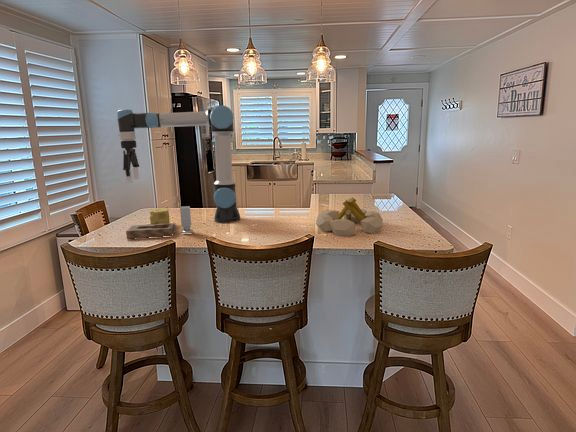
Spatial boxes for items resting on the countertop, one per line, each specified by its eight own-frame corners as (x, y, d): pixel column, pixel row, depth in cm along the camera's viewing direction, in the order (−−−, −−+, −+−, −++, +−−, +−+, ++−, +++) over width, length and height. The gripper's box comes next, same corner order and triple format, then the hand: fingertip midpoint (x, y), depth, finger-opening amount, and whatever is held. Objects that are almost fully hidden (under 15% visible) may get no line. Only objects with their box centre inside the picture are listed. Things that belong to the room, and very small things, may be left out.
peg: (193, 231, 216) (191, 205, 213) (192, 234, 210) (190, 208, 207) (182, 232, 215) (179, 206, 212) (180, 235, 209) (178, 208, 206)
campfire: (330, 240, 193) (329, 205, 189) (307, 224, 225) (307, 193, 221) (395, 232, 202) (396, 199, 198) (365, 218, 234) (365, 189, 230)
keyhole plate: (175, 231, 218) (174, 223, 217) (171, 237, 206) (170, 228, 205) (133, 233, 215) (132, 225, 214) (127, 239, 204) (126, 231, 203)
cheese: (150, 230, 222) (148, 212, 220) (151, 225, 232) (149, 208, 230) (170, 228, 225) (168, 210, 222) (170, 224, 235) (168, 207, 232)
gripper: (127, 139, 222) (132, 178, 227) (113, 141, 198) (118, 184, 203) (141, 139, 223) (145, 177, 228) (128, 140, 199) (134, 183, 204)
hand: (133, 180), depth 215 cm, fingers open, 13 cm apart
